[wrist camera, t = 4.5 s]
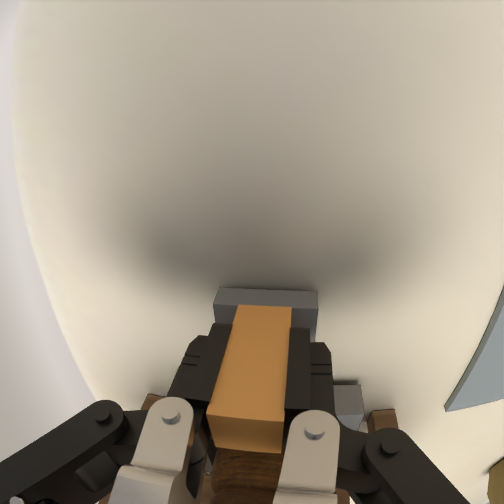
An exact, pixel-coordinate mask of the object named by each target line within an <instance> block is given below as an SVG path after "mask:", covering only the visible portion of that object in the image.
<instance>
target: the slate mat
mask: <svg viewBox="0 0 504 504" xmlns="http://www.w3.org/2000/svg"><path fill="white" fill-rule="evenodd" d="M501 399H504V288H503V291H502V293H501V296H500V299H499V301H498V304H497V306H496V309H495V311H494V314H493V316H492V318H491V321H490V323H489V325H488V327H487V330H486V332H485V334H484V336H483V338H482V340H481V342H480V345H479V347H478V349H477V351H476V353H475V354H474V356H473V358H472V360H471V362H470V364H469V366H468V368H467V369H466V371H465V373H464V375H463V377H462V378H461V380H460V382H459V383H458V385H457V387H456V388H455V390H454V392H453V393H452V395H451V397H450V398H449V400H448V401H447V403H446V404H445V406H444V408H445V411H446V412H450V411H455V410H460V409H465V408H469V407H474V406H478V405H482V404H486V403H490V402H494V401H497V400H501Z"/></svg>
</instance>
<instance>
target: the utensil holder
mask: <svg viewBox="0 0 504 504" xmlns="http://www.w3.org/2000/svg"><path fill="white" fill-rule="evenodd" d="M285 450H286V446H282V449H281V453H266V452H254V451H244V450H235V449H227V448H220V447H217V451H216V455H215V459H214V463H213V467H212V472H211V482H210V483H211V488H212V490H213V492H214V493H215V494H216V495H215V496H214V497H212V498H211V500H210V503H209V504H273V500H274V496H275V493H276V489H277V486H278V483H279V478H280V474H281V469H282V465H283V460H284V455H285Z"/></svg>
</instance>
